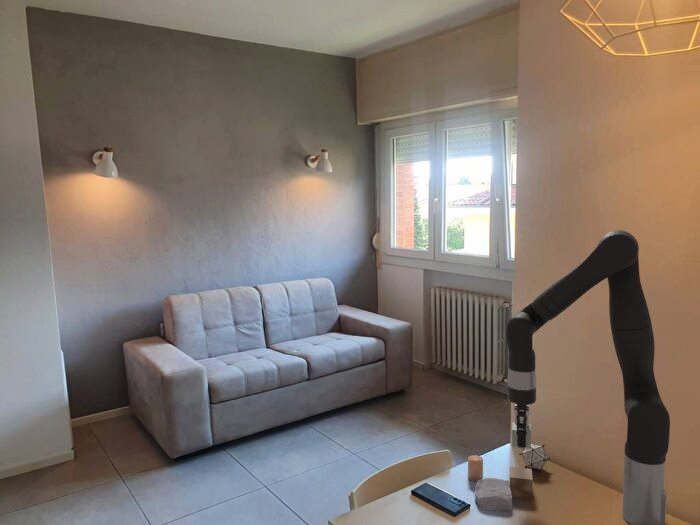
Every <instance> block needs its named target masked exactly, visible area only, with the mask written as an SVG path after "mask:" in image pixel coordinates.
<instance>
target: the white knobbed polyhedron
mask: <svg viewBox="0 0 700 525" xmlns="http://www.w3.org/2000/svg"><path fill="white" fill-rule="evenodd" d="M545 446H546V444H545V443H544V444H543V445H541V444H540V445H539V444H535V443H531V449H527V448H523V450H522V452H519V453H518V455H519V456H521V458H522V460H523V462H524V465H525V466H524V468H527V469H535V470H538V471H540V473H543V470H542V469H544V466H545V465H546V464H547V461H548V460H549V461H550V460H551V458H550V457H548V455H547V451H546V450H545Z"/></svg>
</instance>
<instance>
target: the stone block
mask: <svg viewBox="0 0 700 525" xmlns="http://www.w3.org/2000/svg"><path fill="white" fill-rule="evenodd" d="M474 496H475V501H476V503H477V504H478V506H479V507H480V508H481V509H483V510H488V511H508V510H511V511H512V509H513V497H512V494H511V490H510V479H501V478H498V477H486V478H485V477H484V478H483V479H481V480H478V481H477V482H476V485H475V488H474Z"/></svg>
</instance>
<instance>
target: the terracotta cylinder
mask: <svg viewBox="0 0 700 525" xmlns="http://www.w3.org/2000/svg"><path fill="white" fill-rule="evenodd" d="M467 478H468V480H469V481H471V480H472V482H475V481H478V480H481V479H484V459H483V457H481V456H480V455H474V454H473V455H469V456H468V457H467Z"/></svg>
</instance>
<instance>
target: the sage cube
mask: <svg viewBox="0 0 700 525" xmlns="http://www.w3.org/2000/svg"><path fill="white" fill-rule="evenodd" d="M519 430H524V429H522V428H519ZM516 431H517V425H515V422H512V427H511V447H513V448H519V449H523V448H522V447H518V446H517V433H516ZM526 432H527V434H526V447H525V448H527V449H531V444H532V424H531V423H528V426H527V427H526ZM525 448H524V449H525Z"/></svg>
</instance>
